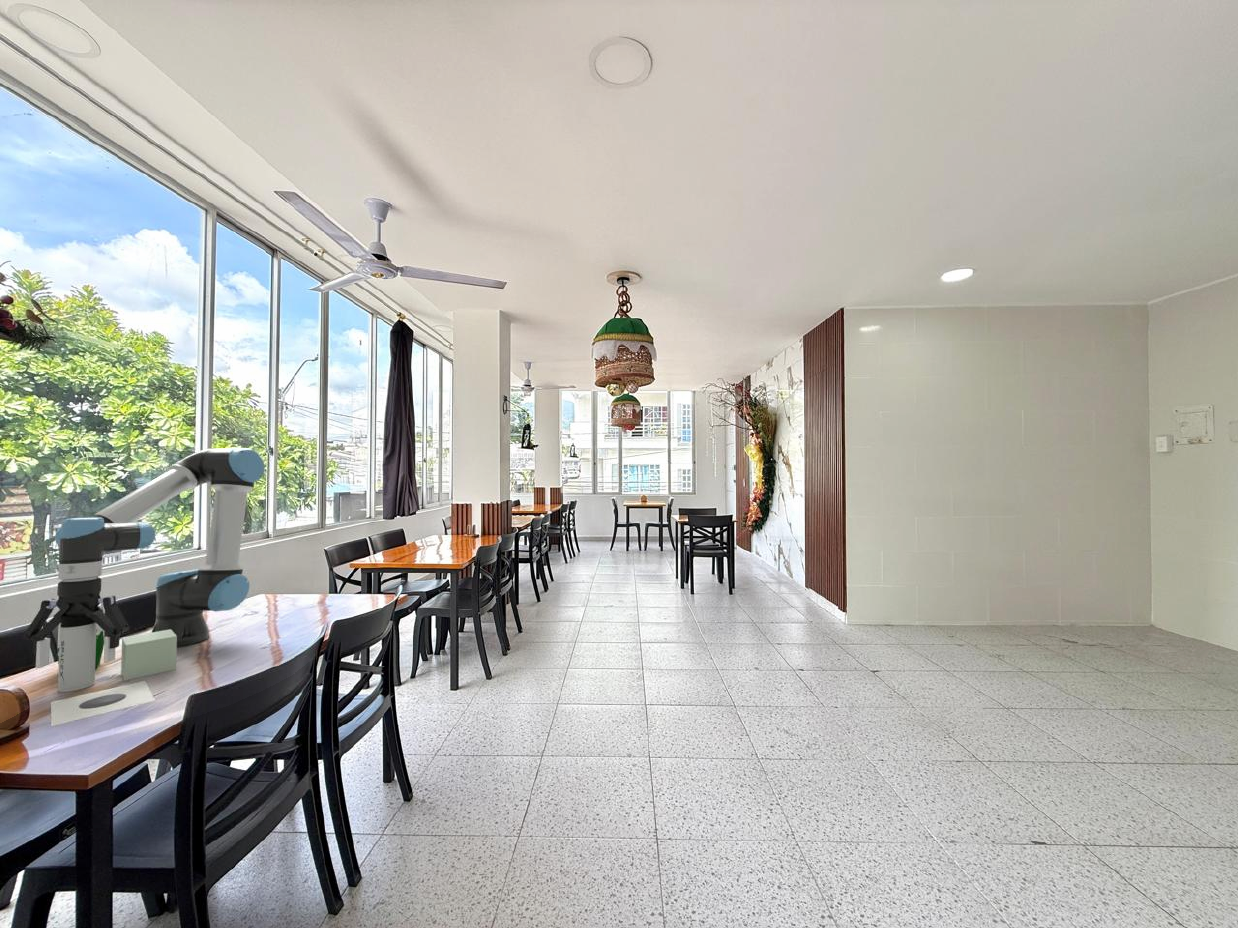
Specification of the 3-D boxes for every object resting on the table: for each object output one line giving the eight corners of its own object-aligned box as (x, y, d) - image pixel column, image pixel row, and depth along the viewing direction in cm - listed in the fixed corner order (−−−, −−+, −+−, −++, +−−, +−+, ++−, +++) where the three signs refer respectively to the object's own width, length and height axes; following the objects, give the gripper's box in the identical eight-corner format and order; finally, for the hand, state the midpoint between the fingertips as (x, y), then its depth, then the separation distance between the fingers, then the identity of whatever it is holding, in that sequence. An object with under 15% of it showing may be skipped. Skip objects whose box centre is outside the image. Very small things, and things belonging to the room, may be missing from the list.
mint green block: (120, 674, 135) (122, 637, 135) (169, 664, 142) (170, 629, 143) (124, 683, 128) (125, 645, 129) (175, 672, 136) (176, 635, 136)
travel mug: (95, 683, 129) (97, 606, 130) (93, 691, 124) (96, 610, 125) (59, 690, 124) (61, 610, 125) (56, 698, 120) (59, 615, 120)
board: (50, 706, 116) (51, 701, 116) (145, 684, 128) (145, 680, 128) (51, 730, 104) (51, 725, 104) (154, 704, 116) (155, 699, 116)
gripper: (3, 584, 119) (-2, 674, 118) (129, 578, 125) (125, 664, 124) (31, 578, 126) (27, 663, 125) (149, 573, 132) (146, 654, 131)
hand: (76, 663), depth 124 cm, fingers open, 13 cm apart
